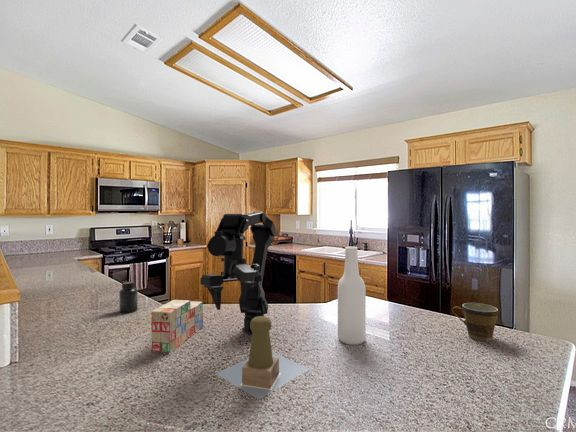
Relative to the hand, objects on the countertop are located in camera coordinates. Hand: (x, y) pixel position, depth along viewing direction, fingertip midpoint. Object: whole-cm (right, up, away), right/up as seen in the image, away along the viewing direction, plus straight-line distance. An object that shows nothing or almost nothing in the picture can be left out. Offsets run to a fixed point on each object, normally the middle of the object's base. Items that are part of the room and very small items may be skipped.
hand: (231, 307), depth 92 cm
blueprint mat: (+10, -13, -13) cm, 21 cm away
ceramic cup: (+78, -13, +10) cm, 80 cm away
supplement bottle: (-51, -13, +38) cm, 65 cm away
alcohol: (+37, -13, +7) cm, 40 cm away
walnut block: (+10, -13, -17) cm, 23 cm away
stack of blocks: (-19, -13, +10) cm, 25 cm away
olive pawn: (+10, -9, -17) cm, 21 cm away
